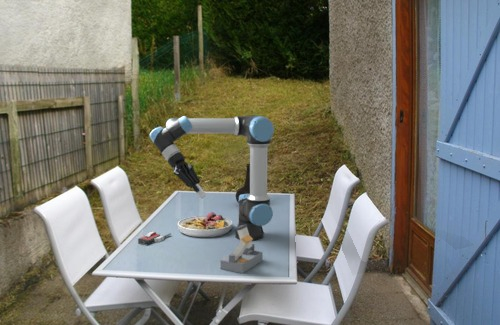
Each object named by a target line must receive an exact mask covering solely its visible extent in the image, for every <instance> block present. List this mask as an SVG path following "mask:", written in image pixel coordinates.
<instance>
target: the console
mask: <svg viewBox="0 0 500 325" xmlns="http://www.w3.org/2000/svg"><path fill="white" fill-rule="evenodd" d="M252 245H253V246H252V247H253V249H252V250H250V251H248V248H246V249H245V250H244V252H243V253H242V255H241V256H240V257H238V258H236V259H235V256H234V255H232V254H233V252H232V253H230V254H228V255H227V256H225V257H223V258H222V259H220V270H224V271H228V272H229V271H230V272H234V273H239V274H244V273H245V272H247V271H248V270H249V269H251V268H253V267H255V266H256V265H257V264H259V263H261V262H262V261H263V251H259V250H255V243H252Z"/></svg>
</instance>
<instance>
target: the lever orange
mask: <svg viewBox="0 0 500 325" xmlns="http://www.w3.org/2000/svg"><path fill="white" fill-rule="evenodd" d="M252 241H254V240H253V238H252V237H251V236H249V235H247V236H245V237H243V238H242V239H241V241H239V244H238V245H237V246H236V248H235V249H234V251H233V252H232V253H233V254H232V253H231V254H232V255H234V256H235V259H236V258H238V257H240V256H241V255H242V253H243V252H244V250H245V249H246V248H247V246H248V245H249V243H250V242H252Z"/></svg>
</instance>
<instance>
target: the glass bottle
mask: <svg viewBox="0 0 500 325" xmlns="http://www.w3.org/2000/svg"><path fill="white" fill-rule="evenodd" d="M245 167H246V170H245V171H246V174H245V180H244V184H243V186H241V187H240V188H238V189H237V191H236V192H235V200H236V203H238V204H239V202H238V201H239V196H240V195H242V194H250V163H246V166H245Z"/></svg>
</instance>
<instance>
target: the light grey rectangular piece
mask: <svg viewBox="0 0 500 325" xmlns="http://www.w3.org/2000/svg"><path fill="white" fill-rule="evenodd" d="M236 230H237V231H238V234H239V238H240V239H239V240H240V241H239V242H241V239H242V238H243V237H245V236H247V235H249V232H248V229H247V224H245V225H241V226H239V227H236V228H235V231H236ZM252 244H253V242H252V241H251V242H250V243H249V245H248V246H247V248H248V251H250V250H252V249H253V247H252V246H253V245H252Z"/></svg>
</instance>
